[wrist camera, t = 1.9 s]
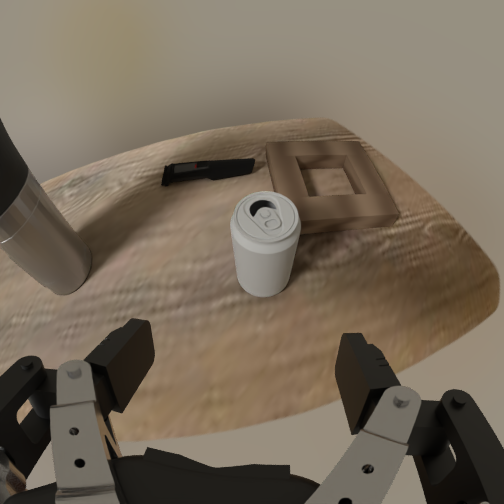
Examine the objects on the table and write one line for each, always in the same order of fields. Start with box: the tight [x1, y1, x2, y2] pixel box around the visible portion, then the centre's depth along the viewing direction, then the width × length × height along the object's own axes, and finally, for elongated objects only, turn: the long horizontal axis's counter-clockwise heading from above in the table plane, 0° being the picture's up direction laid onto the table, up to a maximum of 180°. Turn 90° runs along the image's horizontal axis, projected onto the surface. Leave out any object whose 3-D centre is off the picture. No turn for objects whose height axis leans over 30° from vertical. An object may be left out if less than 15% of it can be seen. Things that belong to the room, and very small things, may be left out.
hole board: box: [266, 141, 399, 234], centre depth 40 cm, size 17×17×3 cm
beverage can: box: [230, 191, 301, 297], centre depth 29 cm, size 6×6×12 cm
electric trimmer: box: [161, 158, 255, 186], centre depth 42 cm, size 4×16×3 cm, turn 94°
